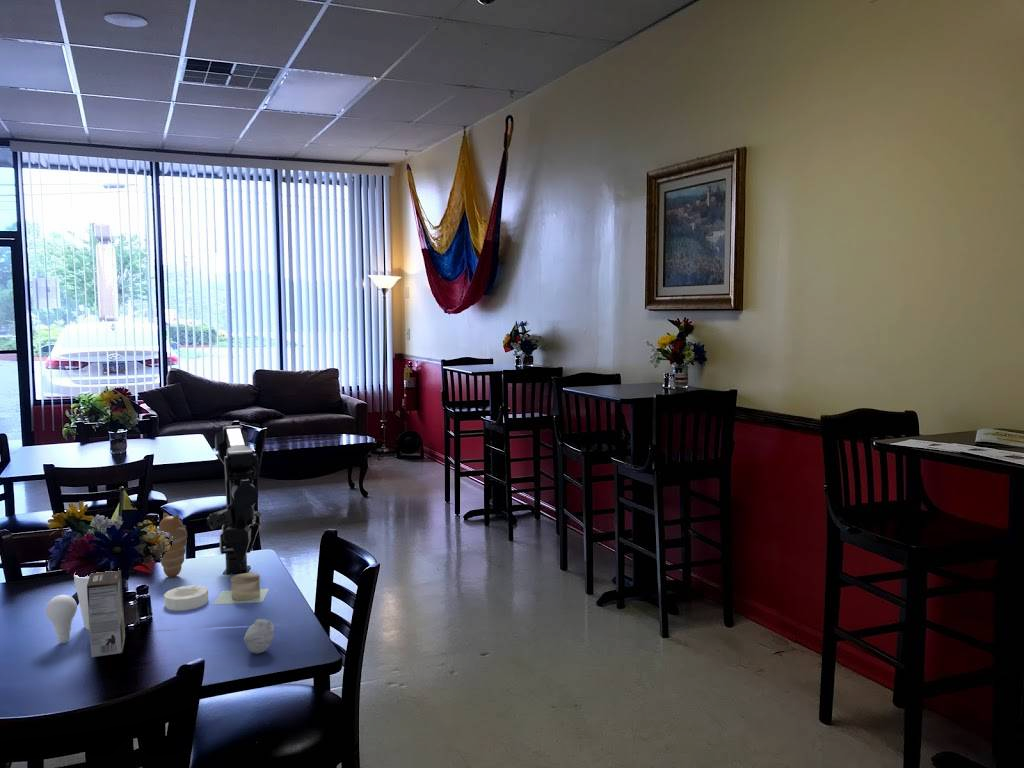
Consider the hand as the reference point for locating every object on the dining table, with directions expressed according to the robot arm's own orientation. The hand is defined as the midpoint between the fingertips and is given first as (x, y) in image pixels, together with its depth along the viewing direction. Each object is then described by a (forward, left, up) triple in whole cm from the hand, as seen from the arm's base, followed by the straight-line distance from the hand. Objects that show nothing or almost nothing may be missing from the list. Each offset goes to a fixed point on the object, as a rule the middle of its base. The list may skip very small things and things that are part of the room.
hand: (244, 558), depth 208 cm
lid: (0, 0, -10) cm, 10 cm away
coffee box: (+28, -24, -11) cm, 38 cm away
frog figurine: (+35, +10, -11) cm, 38 cm away
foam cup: (+14, -31, -11) cm, 36 cm away
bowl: (+3, -14, -11) cm, 18 cm away
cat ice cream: (-20, -24, -11) cm, 33 cm away
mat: (0, -1, -11) cm, 11 cm away
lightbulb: (+24, -35, -11) cm, 44 cm away
